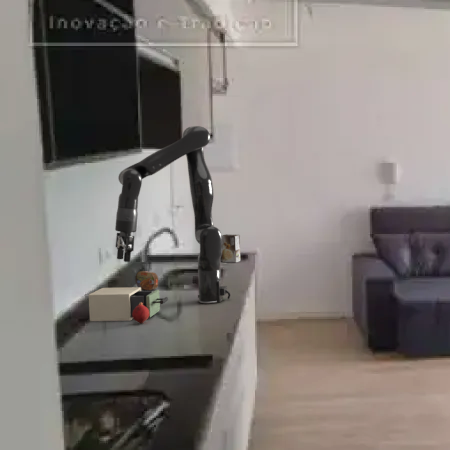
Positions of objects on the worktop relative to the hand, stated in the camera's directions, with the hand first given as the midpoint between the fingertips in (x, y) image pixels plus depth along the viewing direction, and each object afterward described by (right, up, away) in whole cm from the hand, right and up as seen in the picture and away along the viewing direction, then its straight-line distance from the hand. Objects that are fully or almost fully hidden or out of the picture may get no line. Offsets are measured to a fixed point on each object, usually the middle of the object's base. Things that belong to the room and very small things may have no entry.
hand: (123, 260), depth 247 cm
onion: (+12, -23, -12) cm, 29 cm away
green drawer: (+8, -21, -1) cm, 23 cm away
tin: (-12, -17, +49) cm, 53 cm away
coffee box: (+3, -8, +128) cm, 128 cm away
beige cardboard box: (-2, -22, -2) cm, 22 cm away
